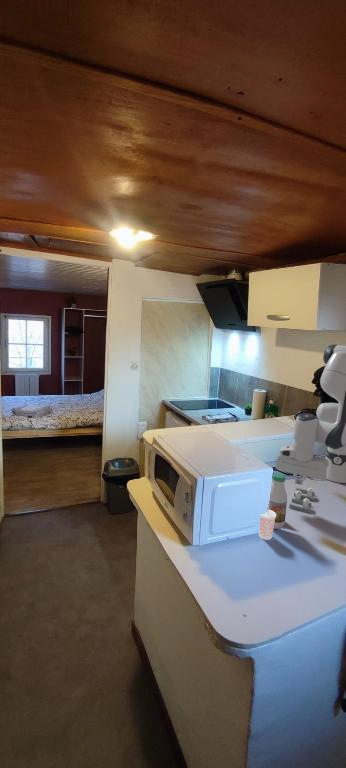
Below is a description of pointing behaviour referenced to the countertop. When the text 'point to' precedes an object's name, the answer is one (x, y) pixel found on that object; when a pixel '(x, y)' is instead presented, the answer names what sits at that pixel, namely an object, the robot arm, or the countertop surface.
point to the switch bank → (302, 501)
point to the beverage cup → (267, 524)
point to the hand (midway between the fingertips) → (298, 483)
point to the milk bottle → (278, 500)
